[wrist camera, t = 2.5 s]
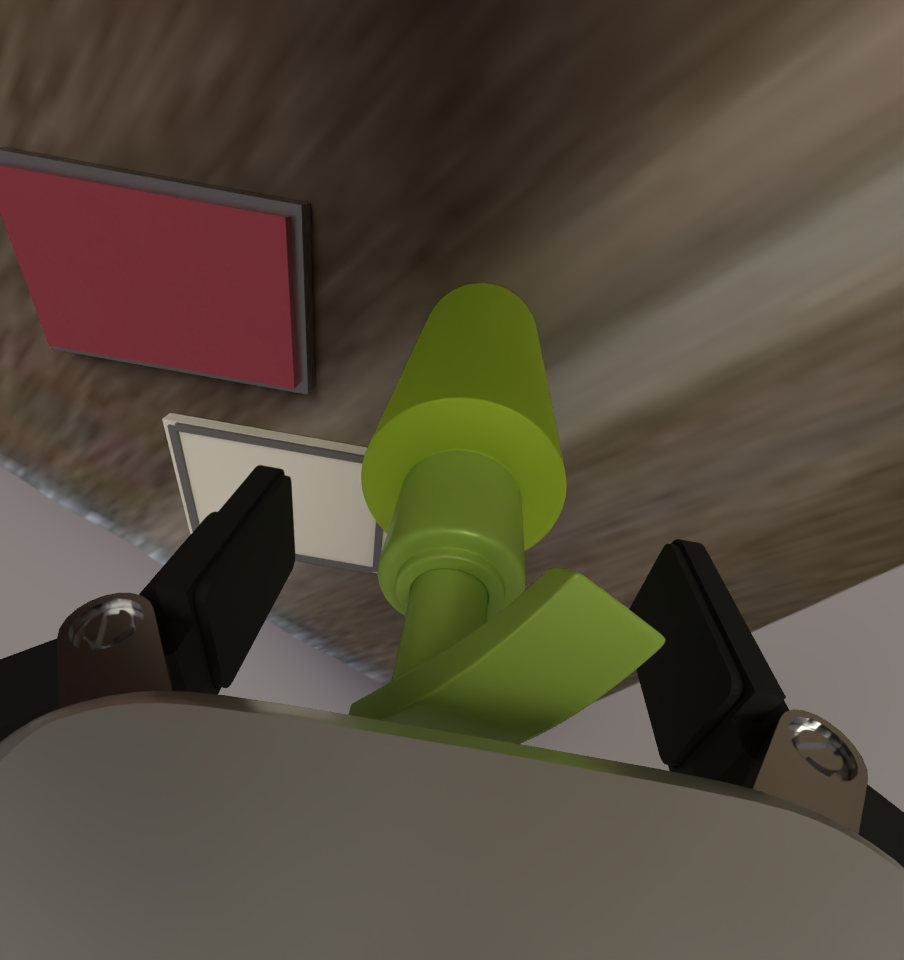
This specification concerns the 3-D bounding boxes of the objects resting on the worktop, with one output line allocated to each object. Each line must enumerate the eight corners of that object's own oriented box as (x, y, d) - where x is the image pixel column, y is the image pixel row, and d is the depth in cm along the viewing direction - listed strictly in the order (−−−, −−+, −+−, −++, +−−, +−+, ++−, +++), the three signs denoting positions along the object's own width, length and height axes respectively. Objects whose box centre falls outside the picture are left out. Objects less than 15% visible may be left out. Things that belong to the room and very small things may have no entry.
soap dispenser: (577, 323, 23) (764, 736, 7) (483, 415, 26) (451, 839, 10) (491, 236, 21) (452, 508, 5) (401, 346, 24) (195, 729, 8)
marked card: (170, 412, 28) (160, 420, 27) (397, 452, 28) (394, 461, 27) (198, 533, 34) (190, 543, 33) (386, 566, 34) (383, 576, 33)
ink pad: (3, 146, 21) (-35, 146, 19) (310, 202, 21) (296, 206, 19) (69, 342, 26) (43, 353, 24) (315, 385, 26) (304, 399, 25)
